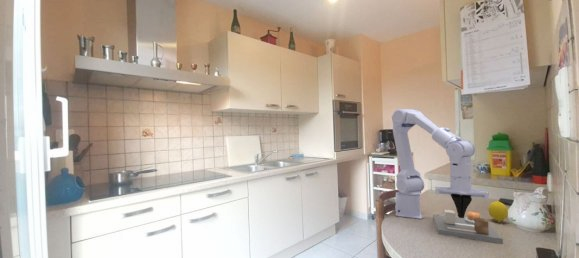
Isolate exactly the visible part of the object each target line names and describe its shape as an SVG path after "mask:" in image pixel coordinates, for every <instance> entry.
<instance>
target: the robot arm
mask: <svg viewBox="0 0 579 258" xmlns="http://www.w3.org/2000/svg"><path fill="white" fill-rule="evenodd" d="M391 119H392V134H393V137H394V138H393V139H394V144H395V149H396V154H397V159H398V164H399V170H400V171H399V172H398V173H397V174H396V175H395V176H396V182H395V183H396V189H397V191H396V192H395V206H394V210H395V216H397V217H404V218H410V219H412V218H413V219H419V220H422V219H423V215H422V211H421V194H422V191H423V190H424V189H425V182H424V180H423V178H422V177H421V173H420V172H419V171H418V170H416V168H415V164H414V159H413V154H412V149H411V145H410V139H409V134H408V132H409V131H410V130H411V129H412V128H413V127H414V126H416V125H417V126H418V127H420V128H421V129H422V130H423V131H426V132H427V133H429V134H430V135H431V139H432V140H433V141H434V142H435V143H437V144H438V145H439V146H440V147H442V148H443V149H444V150H445V152H446V155H447V156H448V158H449V162H450V164H449V165H450V167H449V168H450V169H449V170H450V178H449V180H450V187H439V186H437V187H434V189H435V194H437V195H450V196H451V198H452V201H453V204H454V206H455V209H456V213H457V218H464V219H465V215H466V212H467V210H468V207H469V205H470V204H471V202H473V201H472V200H473V198H474V197H475V198H482V199H483V198H484V199H489V192H488V191H485V190H479V189H473V188H472V157H473V156H474V155H475V153H476V147H475V145H474V144H473V143H472V142H471V141H469V140H463V139H462V137H461V136H458V135H456V134H454V133H453V132H452V131H451V129H450V128H449V127H438V126H437V125H436V123H435V124H434V122H433V121H431V120H430V119H429V118H427V117H426V115H424V113H423V112H422V111H419V110H418V109H416V108H415V109H414V108H413V109H406V108H405V109H404V108H397V109H395V111H394V112H393V114H392V115H391ZM472 197H473V198H472Z"/></svg>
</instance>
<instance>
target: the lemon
mask: <svg viewBox="0 0 579 258" xmlns="http://www.w3.org/2000/svg"><path fill="white" fill-rule="evenodd" d="M488 213H489V216H490V217H491V218H492V219H493V220H495V221H496V222H497V223H499V222H501V221H504V220H506V219H507V218H508V214H509V213H508V208H507V206H506V205H505V203H503V202H501V201H499V200H495V201H493V202H491V203H490V204H489V206H488Z"/></svg>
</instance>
